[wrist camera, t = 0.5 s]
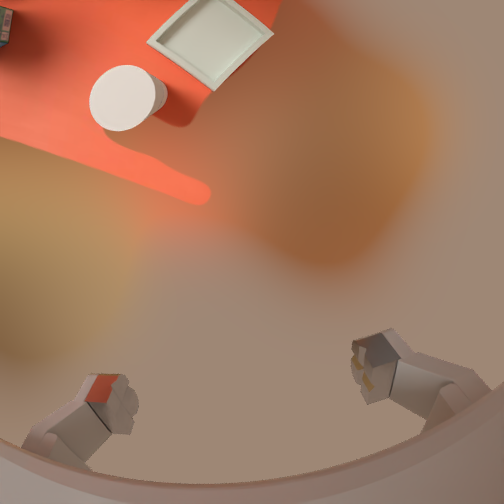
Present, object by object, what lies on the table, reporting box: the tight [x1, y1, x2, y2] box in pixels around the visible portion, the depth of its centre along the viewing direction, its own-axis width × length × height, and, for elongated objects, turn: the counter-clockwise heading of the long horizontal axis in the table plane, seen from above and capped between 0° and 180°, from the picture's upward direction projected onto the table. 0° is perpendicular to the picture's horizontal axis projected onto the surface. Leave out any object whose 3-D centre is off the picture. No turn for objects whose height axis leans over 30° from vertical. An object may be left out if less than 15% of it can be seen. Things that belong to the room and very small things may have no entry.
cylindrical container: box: [89, 65, 168, 131], centre depth 32 cm, size 7×7×25 cm
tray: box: [146, 0, 274, 91], centre depth 37 cm, size 16×16×2 cm
